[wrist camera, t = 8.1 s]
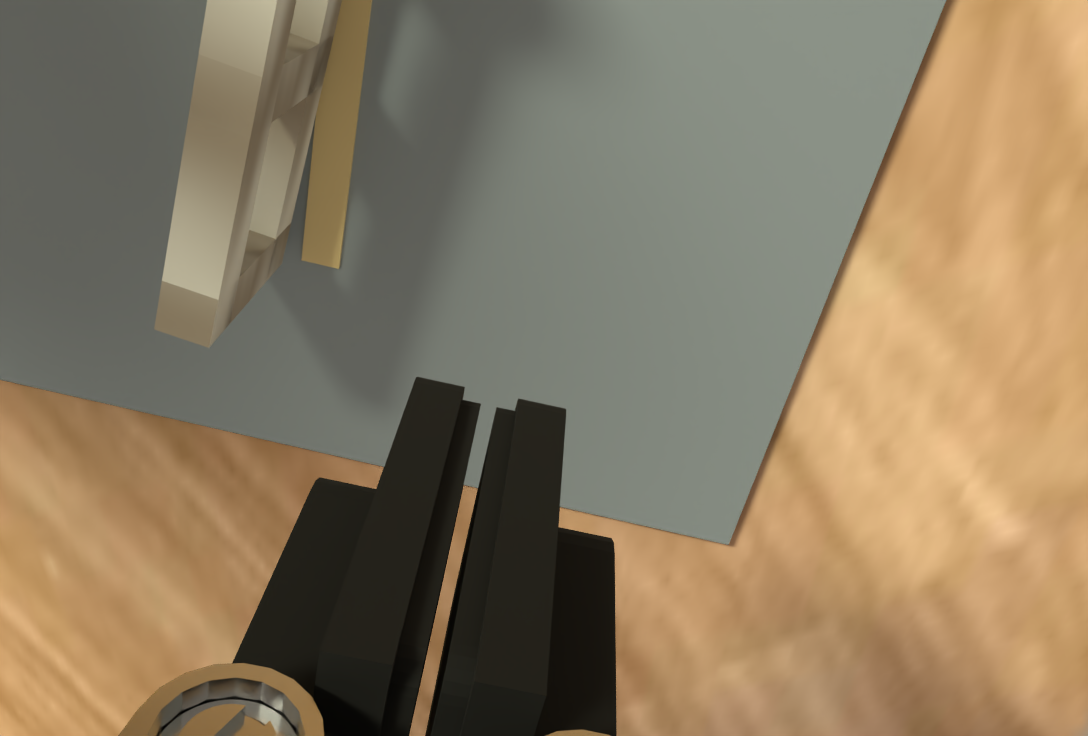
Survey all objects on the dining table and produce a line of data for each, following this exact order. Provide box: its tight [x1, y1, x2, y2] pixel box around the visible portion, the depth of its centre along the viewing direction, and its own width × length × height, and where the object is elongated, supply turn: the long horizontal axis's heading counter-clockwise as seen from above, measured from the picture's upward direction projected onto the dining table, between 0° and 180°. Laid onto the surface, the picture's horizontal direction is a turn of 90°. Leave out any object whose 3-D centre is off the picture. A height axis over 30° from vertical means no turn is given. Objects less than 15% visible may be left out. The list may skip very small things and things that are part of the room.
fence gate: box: [154, 0, 342, 348], centre depth 20 cm, size 11×1×5 cm, turn 161°
